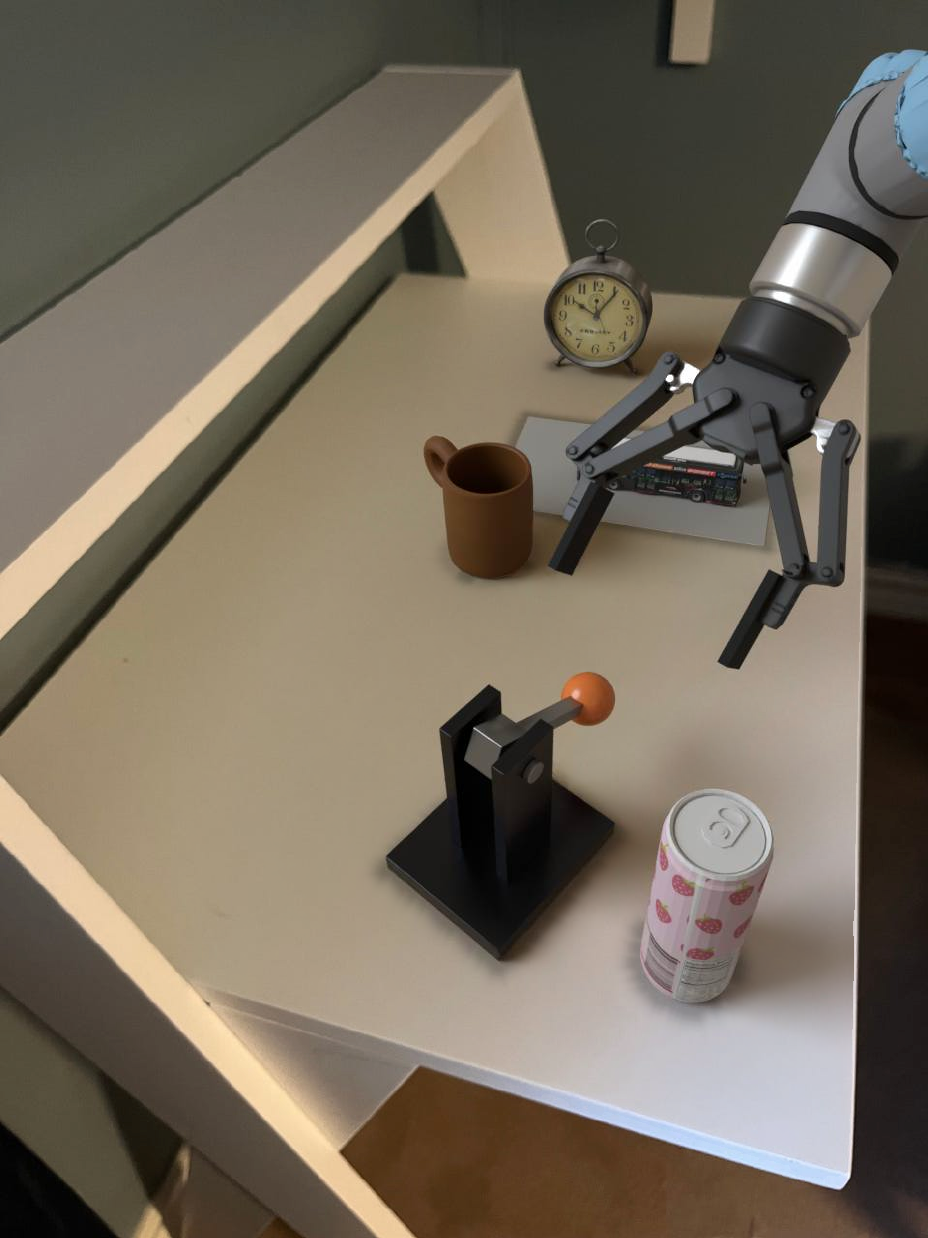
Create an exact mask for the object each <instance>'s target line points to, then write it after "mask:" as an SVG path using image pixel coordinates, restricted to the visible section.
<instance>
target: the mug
mask: <svg viewBox="0 0 928 1238" xmlns="http://www.w3.org/2000/svg"><path fill="white" fill-rule="evenodd" d="M423 459H424V463H425V465H426V466H425V467H426V468H427V471H428V472H429V474H430V476H431V477H432V479H433V481H434V482H435V483H436V484H437V485H438V486H439V487H440V488H441V489H442V501H443V511H444V524H445V533H446V542H447V551H448V554H449V557H450V559H451V562H452V563H453V564H454V565H455V566H456V568H458V569H459V570H460V571H461V572H462V573H465V574H467V575H470V576H473V577H476V578H480V579H498V578H502V577H503V578H504V577H507V576H509V575H512V574H514V573H516V572H518V571H519V570H520V569H522V568H523V567H524V566H525V565H526V563H527V562H528V561H529V559H530V557H531V555H532V552H533V546H534V545H533V544H534V511H533V479H532V468H531V464H530V461H529V460H528V458H527V457H526V455H525V454H524V453H523V452H521V451H520V450H518V449H516V448H515V446H512V445H510V444H505V443H501V442H495V441H493V442H491V441H490V442H489V441H487V442H477V443H472V444H469V445H466V446H463V447H461V448H459V449H458V448H457V447H456V445H454V443H453V442H452V441H450V439H448V438H446V437H444V436H440V435H433V436H431V437H430V438H428V439H427V440H426V441H425V442H424V446H423Z"/></svg>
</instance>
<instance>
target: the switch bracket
mask: <svg viewBox="0 0 928 1238" xmlns="http://www.w3.org/2000/svg"><path fill="white" fill-rule="evenodd" d="M500 714H503V709H502V692H501V690H499V689H498V688H496V687H494V686H493V685H491V684H490V683H489V684H486V686H485V687H484V688H482V689H481V690H480V691H479V692H478V693H477V694H476V695H475V696H474V697H472V698H471V699H470V700H469V701H468V702H467V703H466V704H464V706H462V707H461V708H460V709H459V710H458V711H457V712H456V713H455V714H454V715H453V716H451V717H450V718H448V719H447V720H446V722H444V724H442V725H441V726H440V727H439V728H438V732H439V733H438V734H439V741H440V750H441V758H442V767H443V775H444V784H445V792H446V793H445V794H446V798H445V799H444V800H443V801H442V802H441V803H440V804H439V805H438V806H437V807H435V808H434V810H432V811H431V812H430V813H429V814H428V815H427V816H426V817H425V818H424V819H423V820H422V821H421V822H419V824H417V825H416V827H415V828H414V829H413V830H411V831H410V832H409V833H408V834H407V835H406V836H405V837H404V838H403V839H402V840H401V841H400V842H399V843H398V844H396V846H395V847H393V849H392V850H390V851H389V852H388V853H387V854H386V855H385V861H386V866H387V869H389V870H390V871H391V872H392V873H393V874H395V875H396V876H397V877H398V878H399V879H401V880H402V881H403V882H404V883H405V884H407V885H408V886H409V887H410V888H411V889H412V890H414V891H415V892H416V893H417V894H418V895H420V896H421V897H422V898H423V899H424V900H426V901H427V903H429V904H430V905H431V906H432V907H434V908H435V909H436V910H437V911H438V912H439V913H441V914H442V915H443V916H444V917H445V918H447V919H448V920H449V921H450V922H452V924H453V925H455V926H456V927H458V928H459V930H460V931H462V932H463V933H465V934H466V935H467V936H468V937H469V938H470V939H472V940H473V941H474V942H475V943H476V944H477V945H479V946H480V947H481V948H482V949H484V950H485V951H486V952H487V953H488V954H490V955H491V956H492V957H493V958H494V959H495V960H497V962H501V961H502V959H504V957H505V956H506V955H507V954H508V952H509V951H511V950H512V948H513V947H514V946H515V945H516V944H517V943H518V942H519V940H521V939H522V937H523V936H524V935H525V934H526V932H528V930H529V929H530V928H531V927H532V925H534V923H536V922H537V920H538V919H539V918H540V917H541V916H542V914H544V912H545V911H546V910H547V909H548V908H549V907H550V906H551V904H552V903H553V902H555V900H556V899H557V898H558V897H559V896H560V894H561V893H562V892H563V891H564V890H565V889H567V887H568V886H569V884H571V882H573V880H574V879H575V878H576V877H577V876H578V875H579V874H580V873H581V871H582V870H583V869H584V868H585V867H586V865H588V863H589V862H590V861H591V860H592V859H593V858H594V857H595V856H596V854H597V853H598V852H599V851H601V848H603V846H604V845H605V844H606V843H608V841H609V840H610V839H611V838H612V837H613V835H614V834H615V827H616V821H614V820H613V819H611V818H609V817H608V816H606V815H605V814H604V813H603V812H601V811H599V810H598V809H597V808H595V807H594V806H592V805H591V804H590V803H588V802H587V801H586V800H584V799H582V798H581V797H579V796H578V795H576V794H575V793H574V792H572V791H570V790H569V789H568V788H566V787H565V786H564V785H562V784H560V783H559V782H558V781H556V780H555V779H553V769H554V767H553V765H554V764H553V763H554V730H555V729H554V727H553V726H552V725H550V724H549V723H547V722H546V721H544V720H543V719H539V720H538V721H537V722H536V723H535V724H534V725H533V726H532V727H531V728H530V729H529V730H528V731H527V732H526V733H525V734H524V735H523V736H522V737H521V738H520V739H519V740H518V741H516V742H515V743H514V744H513V745H512V746H511V747H510V748H509V749H508V750H507V751H506V752H505V753H504V754H503V755H502V756H501V757H500V758H499V759H498V760H497V761H496V762H495V763H494V764H493V765H492V766H491V775H492V779H490V778H488V777H487V776H486V775H484V774H483V773H481V772H480V771H479V770H477V769H476V768H475V767H473V766H472V765H470V764H469V763H468V762H466V761H465V760H464V758H465V754H466V751H467V748H468V744H469V741H470V738H471V734H472V731H473V728H474V727H475V726H477V725H480V724H482V723H484V722H486V721H488V720H490V719H492V718H494V717H496V716H498V715H500Z"/></svg>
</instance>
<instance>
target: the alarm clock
mask: <svg viewBox="0 0 928 1238" xmlns="http://www.w3.org/2000/svg"><path fill="white" fill-rule="evenodd" d="M600 223H601V224H603V223H604V224H606V225H609V226H610V227H612V228H613V229H614V232H615V235H616V236H615V241H614V243H613V244H612V245H611V246H610V247H608V248H606V247H605V246H604V245H599V246H594V245H593V244H592V243H591V242H590V238H589V233H590V230H591V228H592V227H594V226H595V225H597V224H600ZM584 233H585V234H584V235H585V241H586V243H587V244H588V246H589V247H590V248H591V249H592V250H594V251H595V252H596V255H591V256H586V257H582V258H581V259H578V260H575V262H573V263H571V264H569V265H568V266H567V267H566V268H565V269H564V270H563V271H561V273H560V274H559V276H558V278H557V279H556V281H555V282H554V284H553V286H552V288H551V290H550V292H549V294H548V295H547V297H546V300H545V304H544V309H543V325H544V329H545V332H546V335H547V337H548V339H549V341H550V344H551V345H552V346H553V347H554V349H556V351H557V352H558V353H559V354H560V355H559V357H558V358H557V359H556V360H555V361H554V366H555V367H559V366H560V365H561V363H562V362H563V361H564V360H568V361H569V362H571V363H573V364H575V365H578V366H581V367H583V368H589V369H608V368H612V367H613V368H614V367H616V366H619V365H621V364H623V363H624V365H625V366H627V368H628V369H629V371H630V372H631V374H632V375H637V373H638V369H637V368H636V367H635V366H634V364H633V361H632V359H631V358H632V357H633V356H634V355H635V354H636V353H637V352H638V351H639V349H640V348H641V347H642V345H643V343H644V342H645V339H646V336H647V333H648V329H649V326H650V323H651V320H652V316H653V310H654V309H653V297H652V293H651V290H650V287H649V285H648V283H647V281H646V278H644V276H643V275H642V274H641V273H640V272H639V270H637V269H636V268H635V267H634V266H632V265H631V264H630V263H628V262H626V261H625V260H622V259H620V258H618V257H614V256H611V255H605V254H606V252H609V251H612V250H613V249H615V247H616V246H617V245H618V242H619V240H620V231H619V228H618V227H617V226H616V224H615V223H613V221H611V220H608V219H605V218H600V219H596V220H593V221H592V222H591V223H589V225H588V226H587V227H586V229H585V232H584Z"/></svg>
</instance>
